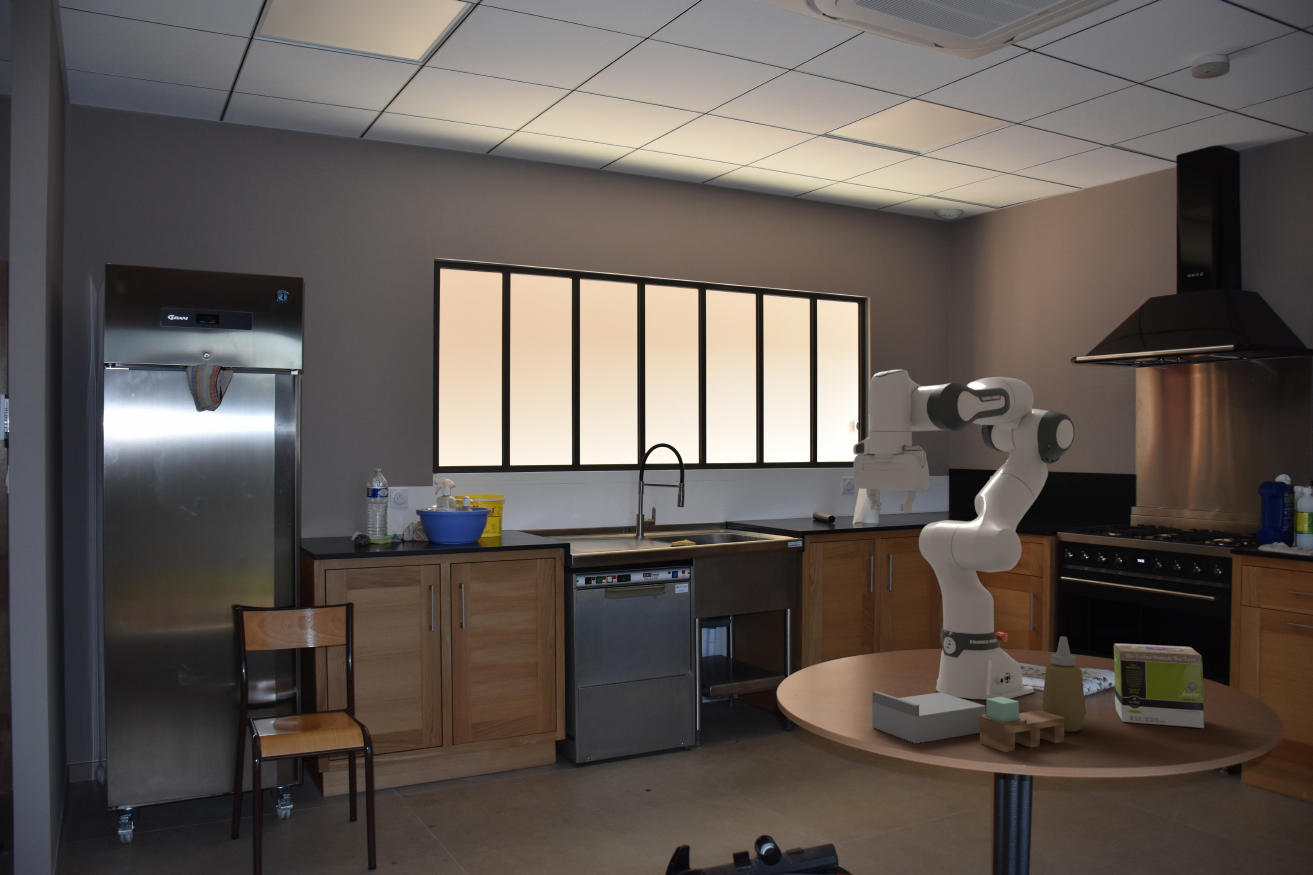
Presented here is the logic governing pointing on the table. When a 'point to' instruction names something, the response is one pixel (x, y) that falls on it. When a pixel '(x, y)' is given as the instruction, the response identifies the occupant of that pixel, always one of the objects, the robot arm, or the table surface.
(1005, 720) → the mint green cube
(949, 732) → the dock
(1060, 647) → the squeeze bottle
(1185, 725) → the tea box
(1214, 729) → the table surface
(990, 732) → the pallet
